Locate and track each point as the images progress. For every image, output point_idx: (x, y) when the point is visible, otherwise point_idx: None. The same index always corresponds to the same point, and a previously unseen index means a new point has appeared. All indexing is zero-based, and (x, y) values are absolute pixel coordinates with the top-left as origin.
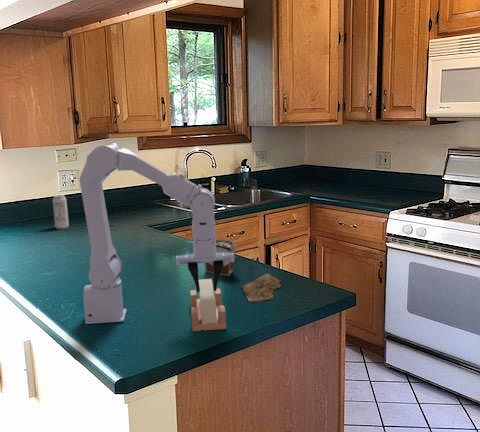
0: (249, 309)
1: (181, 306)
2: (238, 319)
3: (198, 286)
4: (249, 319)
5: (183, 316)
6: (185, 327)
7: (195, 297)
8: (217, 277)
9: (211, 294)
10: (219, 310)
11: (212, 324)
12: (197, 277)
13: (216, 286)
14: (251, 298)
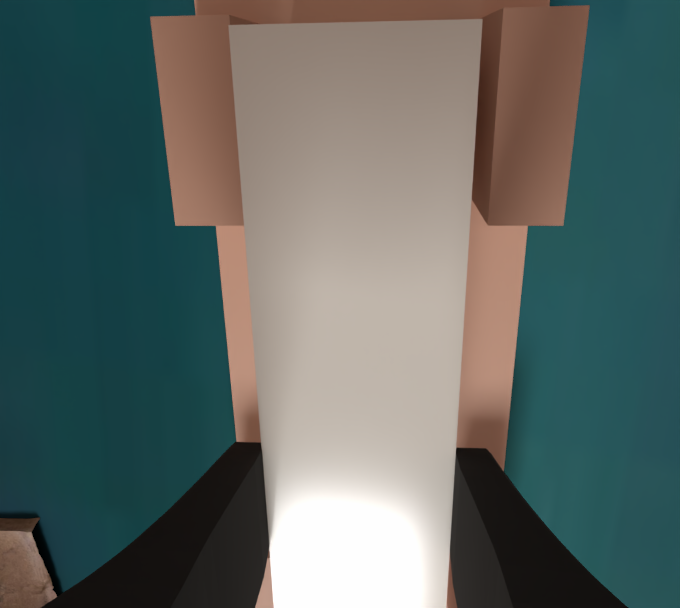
0: (22, 393)
1: (567, 547)
2: (99, 201)
3: (481, 488)
4: (2, 184)
5: (580, 351)
6: (600, 90)
7: None
8: (128, 561)
9: (293, 270)
10: (224, 66)
11: (333, 15)
12: (528, 598)
13: (208, 470)
14: (18, 569)
